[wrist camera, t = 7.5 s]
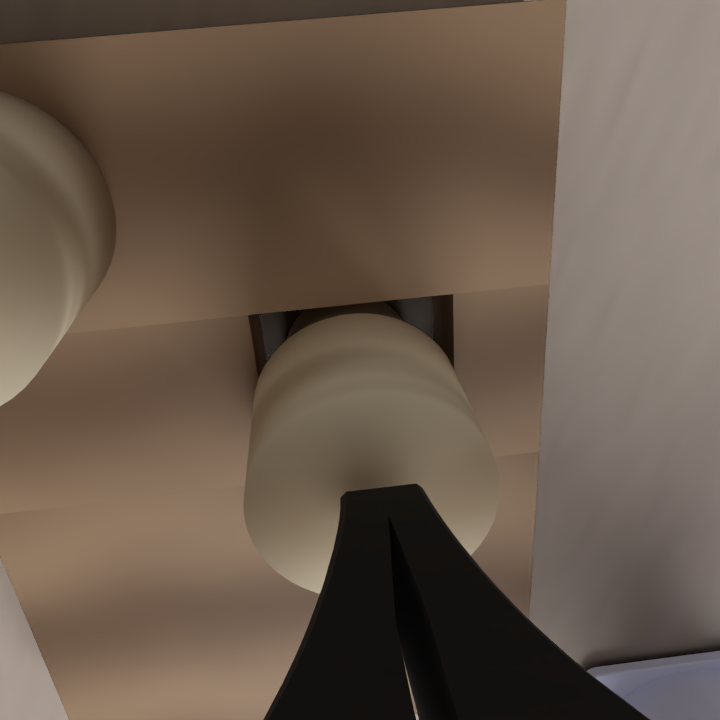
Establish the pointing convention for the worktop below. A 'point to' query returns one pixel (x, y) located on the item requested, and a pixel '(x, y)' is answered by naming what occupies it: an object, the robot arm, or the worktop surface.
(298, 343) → the peg
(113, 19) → the worktop surface
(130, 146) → the board
